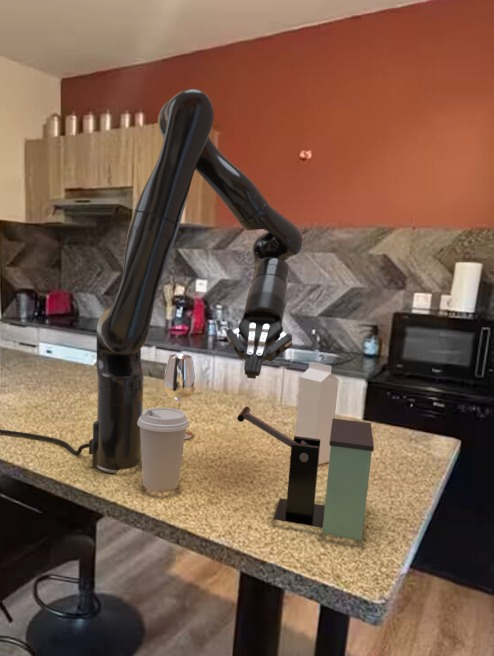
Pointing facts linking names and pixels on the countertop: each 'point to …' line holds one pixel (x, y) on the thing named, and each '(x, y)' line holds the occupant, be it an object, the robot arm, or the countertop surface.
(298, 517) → the black lever stand
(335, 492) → the green lidded box
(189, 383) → the wineglass
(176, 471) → the coffee cup
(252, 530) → the countertop surface
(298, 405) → the milk
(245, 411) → the lever
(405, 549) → the countertop surface
